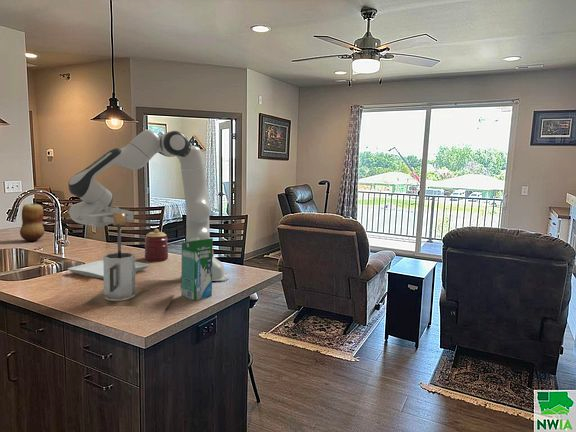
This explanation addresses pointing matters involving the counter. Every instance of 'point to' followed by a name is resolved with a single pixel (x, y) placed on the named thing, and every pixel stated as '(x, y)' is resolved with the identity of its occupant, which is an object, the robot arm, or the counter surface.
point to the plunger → (119, 228)
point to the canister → (156, 246)
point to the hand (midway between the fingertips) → (120, 219)
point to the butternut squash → (32, 222)
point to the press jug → (119, 277)
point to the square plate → (99, 269)
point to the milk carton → (197, 268)
